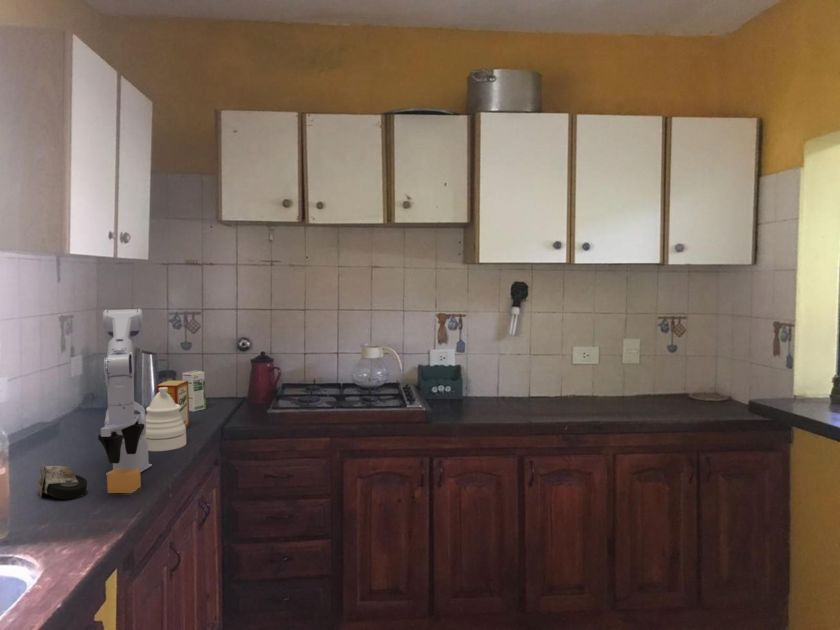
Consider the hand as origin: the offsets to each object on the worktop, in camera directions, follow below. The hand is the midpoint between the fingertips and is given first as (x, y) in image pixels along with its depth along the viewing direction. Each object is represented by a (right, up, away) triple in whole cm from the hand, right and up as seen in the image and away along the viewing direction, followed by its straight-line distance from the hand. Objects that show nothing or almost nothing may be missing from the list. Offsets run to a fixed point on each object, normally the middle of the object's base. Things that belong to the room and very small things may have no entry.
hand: (123, 458), depth 165 cm
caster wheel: (-14, -9, -1) cm, 16 cm away
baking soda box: (-10, -3, +61) cm, 62 cm away
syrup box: (-12, -1, +90) cm, 91 cm away
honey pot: (-6, -5, +41) cm, 42 cm away
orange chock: (0, -8, +1) cm, 8 cm away
